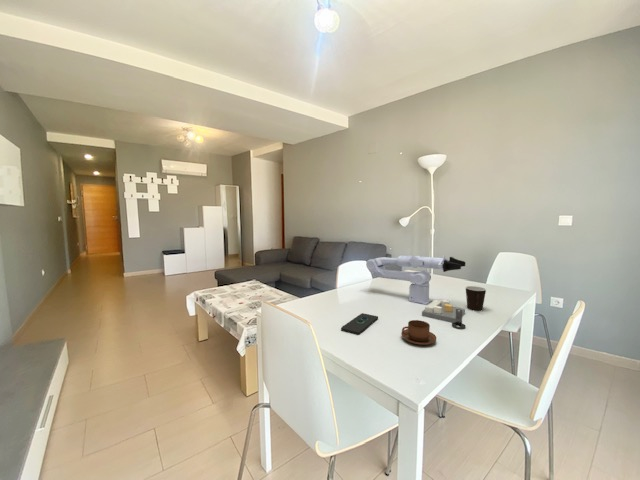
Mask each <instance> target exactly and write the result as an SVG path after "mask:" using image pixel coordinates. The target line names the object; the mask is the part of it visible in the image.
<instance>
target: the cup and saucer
mask: <svg viewBox="0 0 640 480" xmlns="http://www.w3.org/2000/svg"><path fill="white" fill-rule="evenodd" d="M407 324H408V325H407V326H406V325H405V326H403V327H402V329H401V337H402V338H403V339H404V340H405V341H406V342H408V343H410V344H414V345H419V346H425V345H426V346H427V345H430V344H433V343H435V342H436V341H437V335H435V334H434V333H433V332H431V331H430V330H431V329H430V327H431V326H430V323H428V322H426V321H424V320H419V319H413V320H409V321H408V322H407Z"/></svg>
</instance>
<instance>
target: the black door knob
mask: <svg viewBox="0 0 640 480" xmlns="http://www.w3.org/2000/svg"><path fill="white" fill-rule="evenodd" d="M462 311H463V310H461V309H456V320H455V323H451V328H454V329H457V330H465V329H466V324H464V323H463V316H462Z"/></svg>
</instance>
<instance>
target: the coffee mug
mask: <svg viewBox="0 0 640 480" xmlns="http://www.w3.org/2000/svg"><path fill="white" fill-rule="evenodd" d="M486 292H487V288H484V287H481V286H476V285H475V286H473V285H470V286H469V285H467V286H465V295H466V296H465V297H466V306H467V307H466V309H468V310H469V311H473V310H474V312H481V310H482V311H483V309H484V308H483V307H484V303H485V297H486Z"/></svg>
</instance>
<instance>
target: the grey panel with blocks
mask: <svg viewBox="0 0 640 480" xmlns="http://www.w3.org/2000/svg"><path fill="white" fill-rule="evenodd" d="M445 304H448V305H450V301H449V300H444V299H442V300H439V299H435V300H433V301H432V302H429V303H428V305H427V304H426V306H425V307H424V309H423V310H422V311H421V316H422V317H426V318H430V319H435V320H439V321H442V322H443V321H444V322H448V323H451V324H452V323H455V320H456V309H461V310H463V311H462V317H463V316H464V315H465V314H466V308H462V307H457V306H453V311H452V312H448V311H444V305H445Z"/></svg>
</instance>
